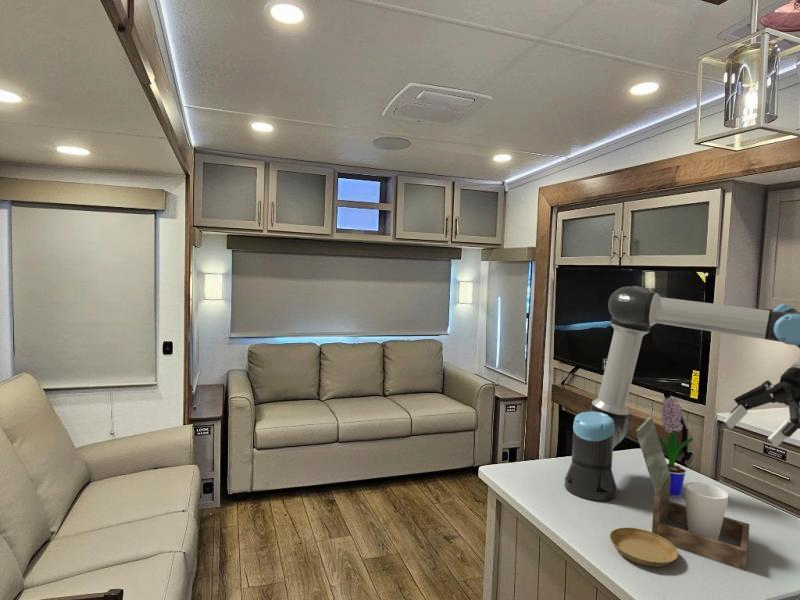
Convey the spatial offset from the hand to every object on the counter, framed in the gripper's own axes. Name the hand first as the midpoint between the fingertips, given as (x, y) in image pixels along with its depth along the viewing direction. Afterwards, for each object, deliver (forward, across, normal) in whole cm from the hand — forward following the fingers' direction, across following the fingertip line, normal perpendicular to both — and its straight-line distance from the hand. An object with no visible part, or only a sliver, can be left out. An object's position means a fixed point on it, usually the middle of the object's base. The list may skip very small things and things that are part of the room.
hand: (748, 433), depth 122 cm
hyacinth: (+19, +27, -20) cm, 39 cm away
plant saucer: (+42, -5, +2) cm, 42 cm away
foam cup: (+27, 0, -12) cm, 30 cm away
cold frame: (+29, +2, -10) cm, 31 cm away
